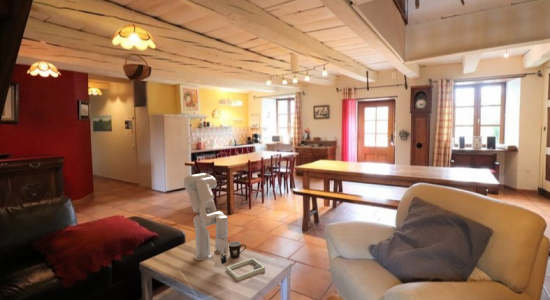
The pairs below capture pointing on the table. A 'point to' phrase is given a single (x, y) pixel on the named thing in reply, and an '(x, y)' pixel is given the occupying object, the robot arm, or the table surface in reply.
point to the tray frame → (249, 261)
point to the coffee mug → (235, 249)
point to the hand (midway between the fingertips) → (222, 260)
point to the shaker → (217, 258)
